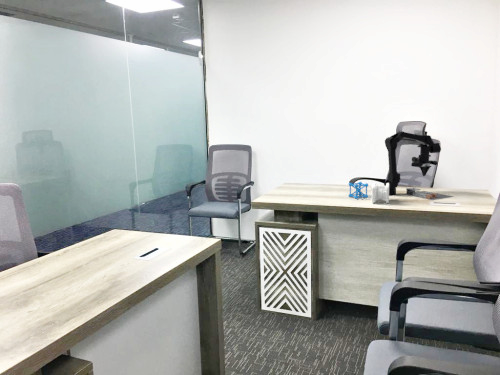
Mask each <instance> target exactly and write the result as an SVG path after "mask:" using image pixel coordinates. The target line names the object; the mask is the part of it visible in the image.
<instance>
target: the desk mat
mask: <svg viewBox="0 0 500 375" xmlns="http://www.w3.org/2000/svg"><path fill="white" fill-rule="evenodd" d="M420 191H421V190H420ZM421 192H428V193H434V194H437V198H432V199H427V198H422V197H418V196H413V195H408V194H406V193H404V195H405V196H411V197H415V198H419V199H425V200H429V201H434V200H435V201H436V200H443V199H449V198H453V197H454V198H455V196H453V195H448V194H443V193H437V192H432V191H428V190H427V191H426V190H422V191H421Z"/></svg>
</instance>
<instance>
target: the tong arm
mask: <svg viewBox="0 0 500 375" xmlns="http://www.w3.org/2000/svg"><path fill="white" fill-rule="evenodd" d="M415 192H419V193H424V194H430V195H432V198H437V194H434V193H435V192H432V193H428V192H429V191H427V192H421V190H418V191H415Z"/></svg>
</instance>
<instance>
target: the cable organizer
mask: <svg viewBox="0 0 500 375" xmlns="http://www.w3.org/2000/svg"><path fill="white" fill-rule="evenodd" d="M370 188H371V203H372V204H375V203H376V201H385V203H386V204H389V203H390V196H389V183H386V186H385V185H377V183H376V182H372V184H371V187H370Z"/></svg>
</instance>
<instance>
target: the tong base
mask: <svg viewBox="0 0 500 375" xmlns="http://www.w3.org/2000/svg"><path fill="white" fill-rule="evenodd" d="M405 190H406V193H405V194H408V195H407V196H410V195H413V196H412V197H414V196H418V197H417V198H419V197H422V198H421V199H424V198H427V199H426V200H429V199H432V195H430V194H424V193H419V192H416V191H421V188H418V187H407V188H406V189H405Z"/></svg>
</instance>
